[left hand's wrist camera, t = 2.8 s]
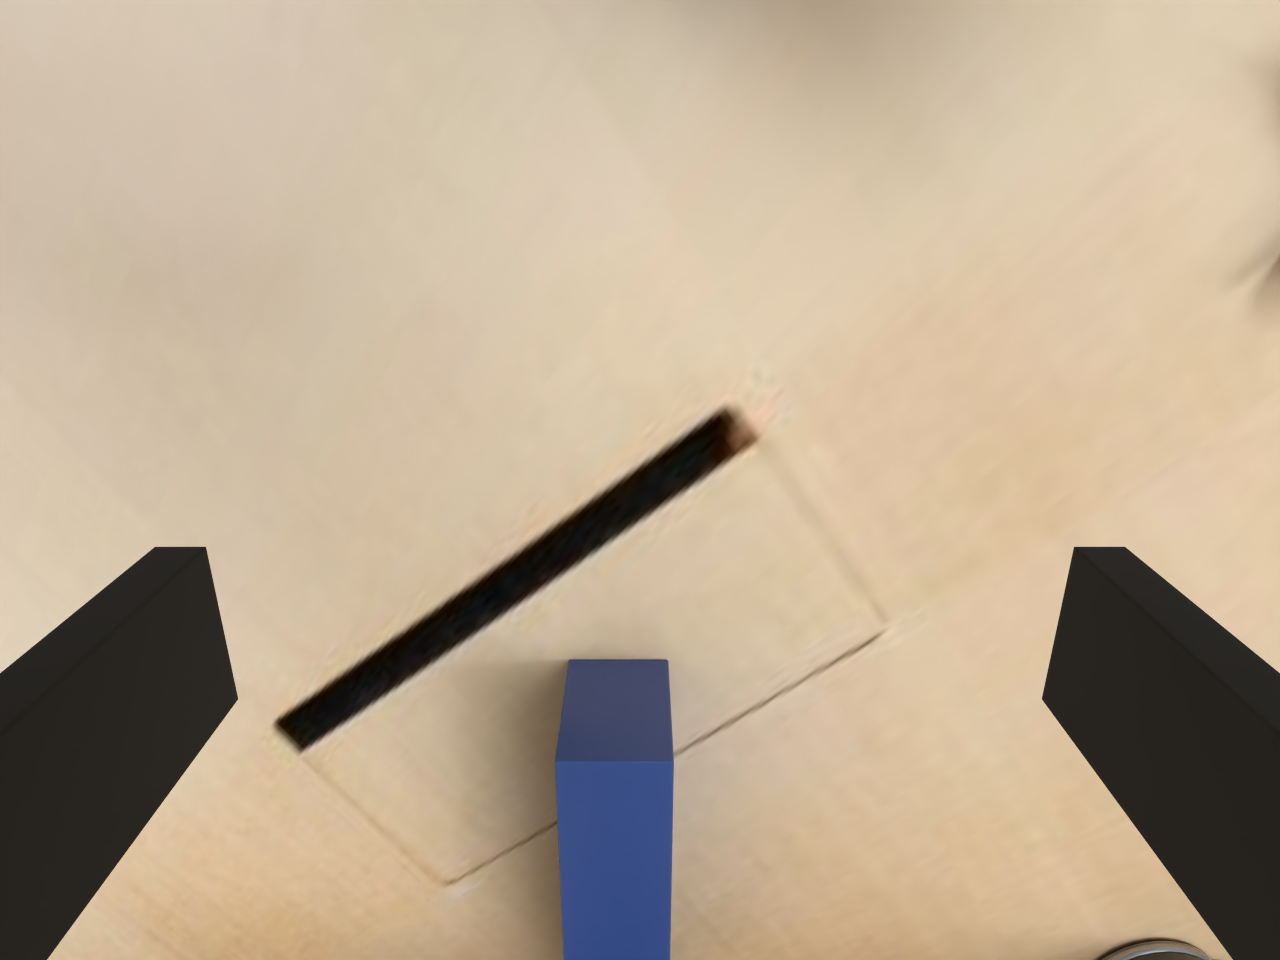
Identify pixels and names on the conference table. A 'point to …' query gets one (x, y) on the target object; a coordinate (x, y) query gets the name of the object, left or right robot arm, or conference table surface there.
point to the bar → (615, 810)
